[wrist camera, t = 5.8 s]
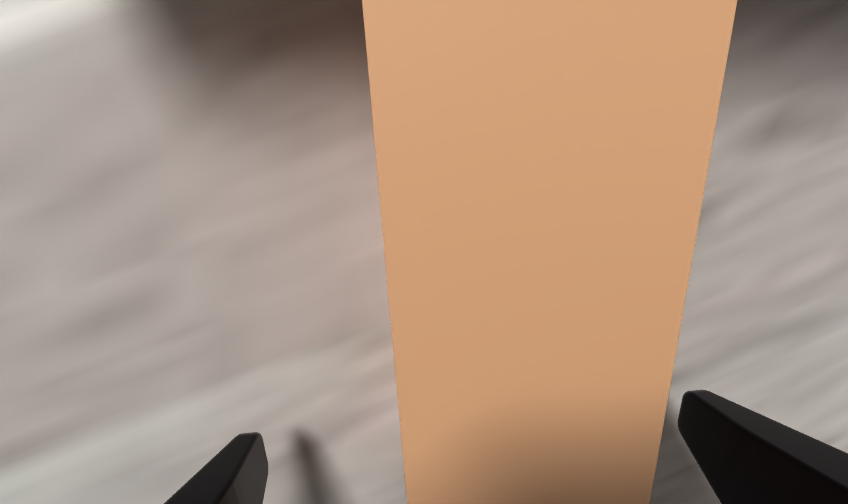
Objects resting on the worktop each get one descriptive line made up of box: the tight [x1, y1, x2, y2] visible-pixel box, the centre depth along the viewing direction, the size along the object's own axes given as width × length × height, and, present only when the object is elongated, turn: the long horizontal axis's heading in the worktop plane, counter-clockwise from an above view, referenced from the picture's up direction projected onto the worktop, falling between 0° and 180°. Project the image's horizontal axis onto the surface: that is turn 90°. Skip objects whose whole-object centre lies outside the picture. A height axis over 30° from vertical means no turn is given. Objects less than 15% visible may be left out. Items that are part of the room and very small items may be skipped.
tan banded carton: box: [362, 0, 737, 504], centre depth 6 cm, size 14×3×5 cm, turn 3°
